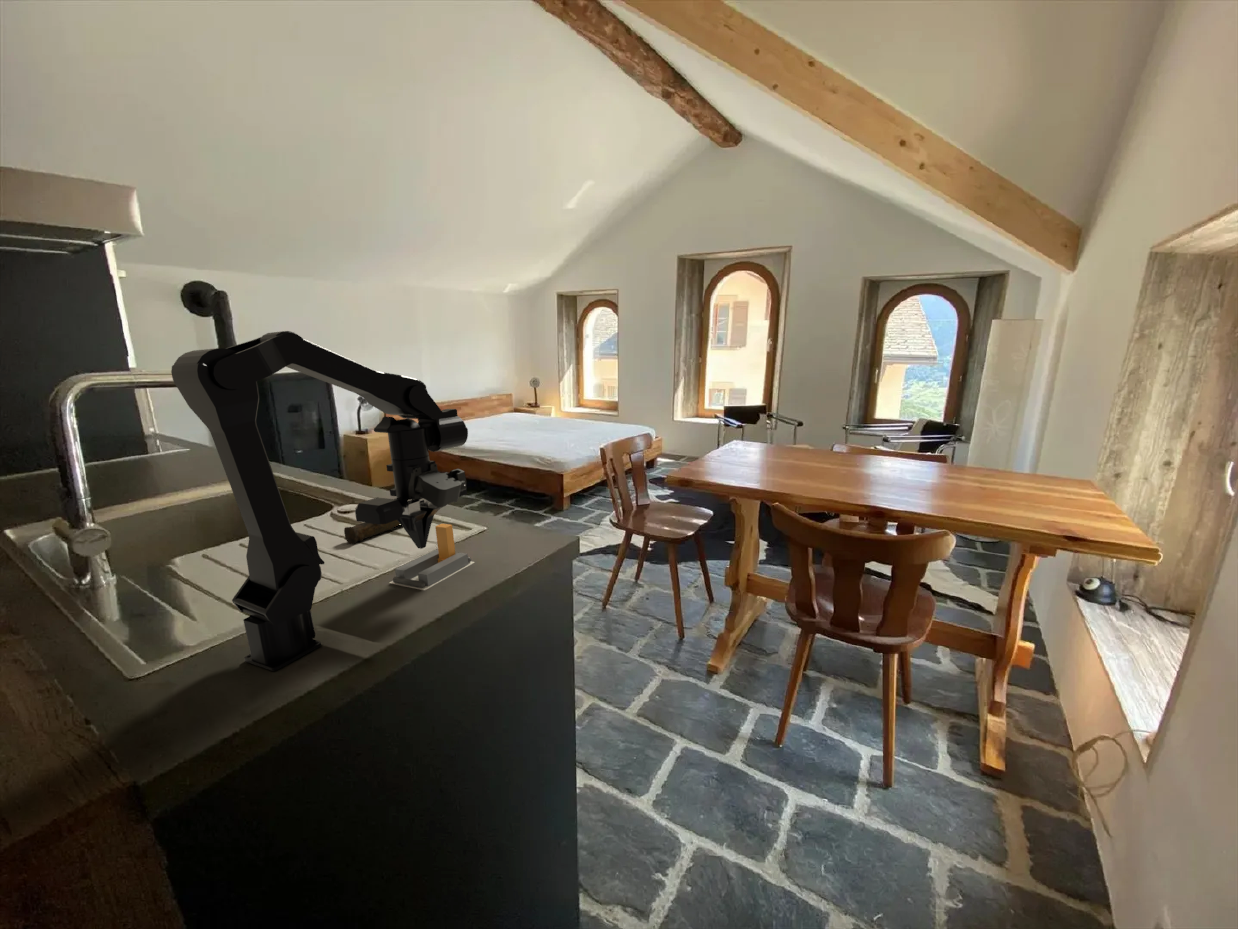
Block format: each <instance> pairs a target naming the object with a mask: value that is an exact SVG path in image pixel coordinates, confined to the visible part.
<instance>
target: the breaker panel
mask: <svg viewBox="0 0 1238 929" xmlns="http://www.w3.org/2000/svg"><path fill="white" fill-rule="evenodd" d="M438 559H439V552H438V548H437V549H434V550H432V551H430V552H428V553H426V554H424V555H421V556H419V557H417V558H415V559H413V560H411V561H409V562H407V563H404V564H403V565H400V566H398V567H396V568H394V571H395V576H394V577H393V579H392V581H390V582H388V583H389V584H391V585H397V586H401V587H407V588H412V589H417V590H421V591H426V590H428V589H430V588H432V587H433V586H435V585H437V584H440V582H443V581H444V580H446V579H448V578H450V577H451V576H453V575H455V574H456V573H459V572H460V571H462V570H464V569H465V568H468V567H469V566H471V565H473V564H475V563H476V562H475V561H472V558H471V557H470V556H469V555H468V553H466V552H456V553H455V555H453V556H451V557H449V558H447V559H445V560H443V561H441V562H439V563H438Z"/></svg>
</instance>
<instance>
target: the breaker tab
mask: <svg viewBox="0 0 1238 929" xmlns="http://www.w3.org/2000/svg"><path fill="white" fill-rule="evenodd" d="M435 536H436V541H437V542H436V544H437V549H438V552H439V559H438V563H439V562H441V561H443V560H445V559H447V558H449V557H451V556H453V555H455V554H456V546H455V538H454V529H453V524H449V523H448V524H447V523H440V524H438V525H435Z"/></svg>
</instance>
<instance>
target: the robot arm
mask: <svg viewBox="0 0 1238 929" xmlns="http://www.w3.org/2000/svg"><path fill="white" fill-rule="evenodd" d="M285 367H286V368H288V369H291V370H294V371H297V372H299V373H301V374H304V375H307V376H308V377H312V378H315V379H317V380H320V381H322V382H325V383H328V384H330V385H333V386H335V387H338V388H340V389H344V390H346V391H348V392H352V393H354V394H356V395H357V396H360V397H361V398H363V400H365V401H366V402H367V403H368V404H369V405H370V406H372V407H374V408H375V409H377V410H378V411H380V412H382V413H384V414H386V415H390V416H382V418H381V420H380V422H379V423H378V424H377V425H376V426H375V427H374V428H373V432H375V433H381V434H387V437H388V446H389V454H390V459H391V463H390V464H385V465H386V471H387V472H392V474H393V475H392V476H393V483H394V488H391V489H389V495H390V496H391V497H396V498H394V499H393V498H386V497H374V498H371V499H367V500H365V501H361V502H358V504H357V505H356V507H355V511H354V513H355V519H356V520H355V521H356V522H357V523H358V522H359V523H372V524H379V525H381V524H387V523H390V522H392V521H395V520H397V521H398V522H399V523H400V524H401V525H402V526H401V527H402V528H403V529H404V531H405V532H406V533H407V535H408V537H409V538H410V539H411V541H412V542H413V543H414V545H415V546H416V548H418V549H420V550H422V549H424V548H426V547H427V544H428V538H429V534H430V530H431V528H432V527H431V526H432V523H433V519H434V517H435V514H436V513H438V512H439V511H440V509H442V508H444V507H446V506H447V505H449V504H452V503H457V502H458V501H459V498H460V497H462V496H466V495H468V488H467V477H466V472H465V470H462V469H460V468H456V469H453V470H450V471H449V472H447V471H446V472H441V471H439V470H438V464H437V463H436V460H430V455H429V453H430V452H433V453H435V452H440V451H443V450H448V449H453V448H457V447H462V446H463V445H465V443H467V441H468V437H469V429H468V427H467V425H466V423H465V421H464V420H463V419H462V417H460V415H458V409H456V408H447V409H441V408H440V407H439V405H438V404H437V403H436V402H435V401H434V399H433V397H432V396H431V395H430V393H429V392H428V390H427V385H426V384H425V383H424V382H423V381H421V380H420V379H417V378H414V377H410V376H406V375H403V374H402V375H400V374H397V373H396V374H395V373H389V372H383V371H378V370H376V369H374V368H371V367H369V366H366V365H364V364H362V363H359V362H357V361H356V360H353V359H351V358H349V357H346V356H344V355H341V354H340V353H337V352H334V351H332V350H330V349H328V348H325V347H324V346H321V345H319V344H316V343H314V342H312V341H310V340H308V339H305V338H303V337H302V336H301V335H299V334H298V333H296V332H295V331H294V332H293V331H290V330H284V331H283V330H282V331H276V332H267V333H265V334H263V335H262V336H260V337H257V338H254V339H251V340H249V341H244V342H242V343H239V344H236V345H232V346H229V347H226V348H224V347H223V348H222V347H221V348H220V347H219V348H218V347H217V348H209V349H208V348H206V349H195V350H192V351H188V352H184V353H183V354H182V355H180V356H178V357H177V359H176V360H175V361H174V363H173V364H172V366H171V371H170V372H171V377H172V381H173V383H174V385H175V387H176V388H177V389H178V392H179V393H180V394H181V396H182V398H183V399H184V400H185V403H186V404H187V406H188V407H189V409H191V411H192V412H193V413H194V414H195V415H196V417H198V419H199V420H200V421H201V422H202V423H203V424H204V425H205V426H206V428H207V429H208V431H209V432H210V435H211V437H212V441H213V442H214V446H215V448H216V451H217V454H218V456H219V459H220V461H221V462H220V463H221V464H222V467H223V470H224V472H225V475H226V478H227V480H228V482H229V483H228V484H229V487H230V488H231V491H232V493H233V497H234V500H235V502H236V504H237V507H238V509H239V512H240V515H241V518H242V520H243V523H244V525H245V529H246V531H247V534H248V543H247V549H246V555H245V557H246V563H247V569H248V570H247V571H248V577H247V578H246V579H245V581H244V582H243V584H242V585H241V586H240V588H239V589H238V591H236V593H235V595H234V596H233V598H232V599H231V602H232V604H233V605H234V606H235V607H236V609H237V610H238V611H239V612H242V613H246V614H248V615H249V616H248V617H245V618H243V625H244V629H245V634H246V639H247V643H248V649H249V652H250V654H247V655H246V656H244V659H243V660H244V662H246V663H249V664H252V665H255V666H257V667H260V668H263V669H266V670H268V671H271V672H275V671H278V670H280V669H282V668H283V667H285V666H287V665H289V664H291V663H293V662H295V661H296V660H298V659H299V658H302V657H303V656H305V655H307V654H309V653H310V652H313V651H314V650H316V649H318V648H320V647H321V646H322V641H320V640H317V639H315V638H316V630H315V626H314V620H313V619H314V618H313V616H312V606H313V602H314V597H315V596H314V595H315V592H316V588H317V585H318V584H319V582H320V581H321V580H322V576H323V575H322V567H321V565H325V561H324V560H323V558H321V556H320V554H319V550H318V542H317V540H316V537H315V536H313V535H309V534H305V533H301V532H296V530H294V528H293V526H292V524H291V521H290V518H289V516H288V512H287V510H286V506H285V504H284V501H283V499H282V495H281V491H280V489H279V487H278V483H277V481H276V477H275V474H274V472H273V468H272V466H271V463H270V460H269V457H268V454H267V451H266V448H265V445H264V443H263V439H262V437H261V433H260V431H259V428H258V425H257V416H258V409H259V403H260V393H259V385H258V382H259V381H261V380H263V379H265V378H268V377H270V376H273V375H274V374H276V373H278V372H280V371H281V370H282V369H284V368H285ZM394 416H399V417H401V419H396V418H395V417H394ZM414 419H415V420H417V421H418V422H417V421H415V420H414ZM429 451H430V452H429Z"/></svg>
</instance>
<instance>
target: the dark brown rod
mask: <svg viewBox="0 0 1238 929" xmlns="http://www.w3.org/2000/svg"><path fill="white" fill-rule="evenodd" d="M399 524H400V523H399V522H398V521H397V520H395V521H392V522H390V523H387V524H381V525H379V524H372V523H365V522H361V523H360V524H356V525H353V526H348V527H347V526H345V527H344V530H343V531H344V532H343V533H344V534H343V535H344V539H345V541H346V542H347V543H348V544H350V545H355V544H357V542H363V541H364V539H368V538H371V537H373V536H376V535H378V534H381V533H384V532H386V531H389V530H392V529H395V528H397V527H396V526H398V525H399ZM394 527H395V528H394ZM398 527H399V526H398Z"/></svg>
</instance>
